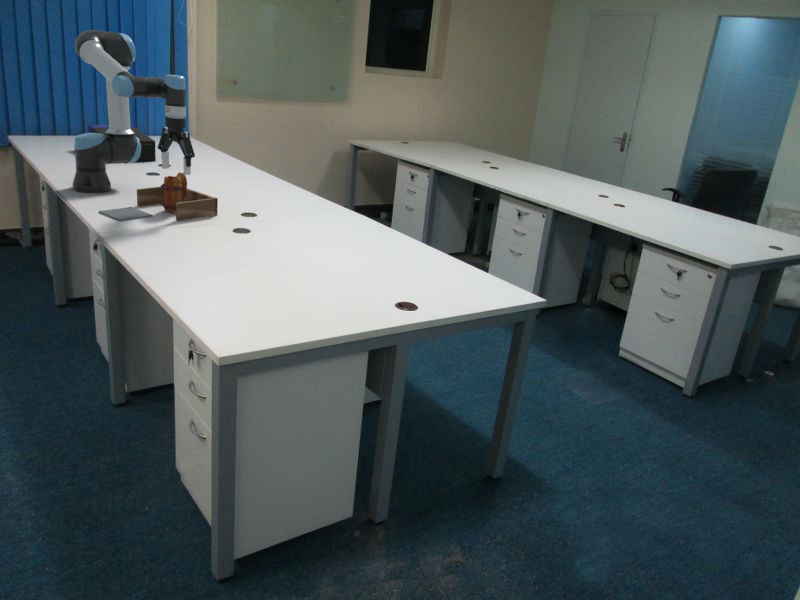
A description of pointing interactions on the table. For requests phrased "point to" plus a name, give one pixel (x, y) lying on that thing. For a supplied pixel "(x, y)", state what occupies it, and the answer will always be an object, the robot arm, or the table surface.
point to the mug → (174, 191)
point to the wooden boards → (181, 203)
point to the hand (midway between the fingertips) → (176, 171)
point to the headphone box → (145, 141)
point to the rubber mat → (125, 214)
